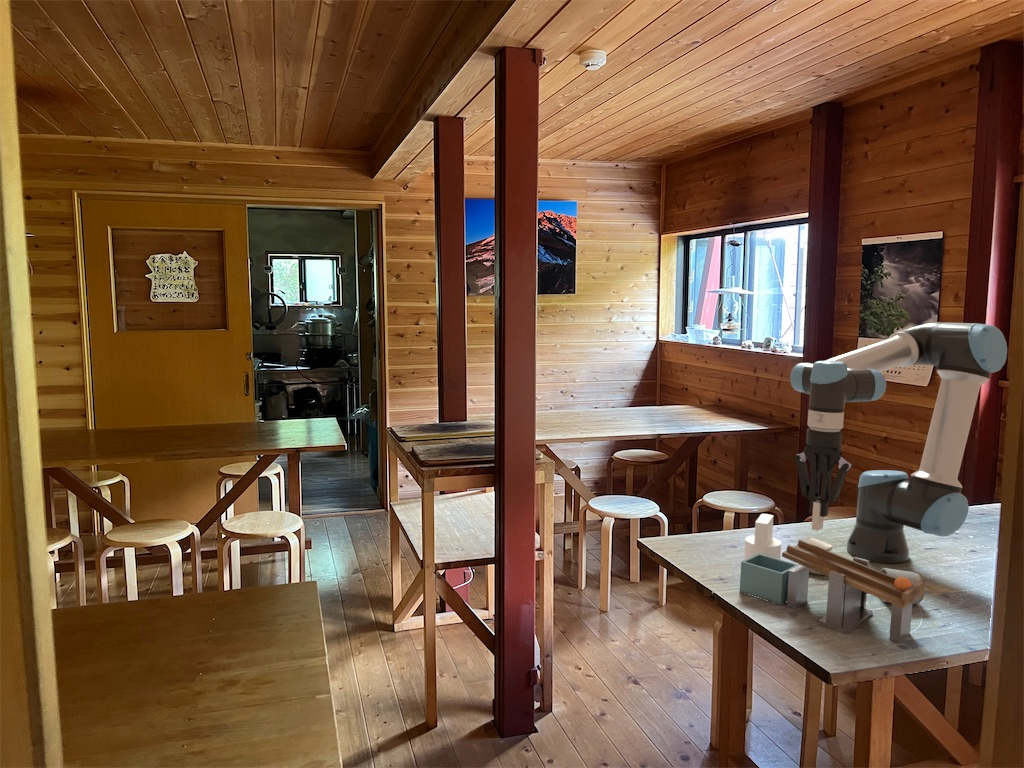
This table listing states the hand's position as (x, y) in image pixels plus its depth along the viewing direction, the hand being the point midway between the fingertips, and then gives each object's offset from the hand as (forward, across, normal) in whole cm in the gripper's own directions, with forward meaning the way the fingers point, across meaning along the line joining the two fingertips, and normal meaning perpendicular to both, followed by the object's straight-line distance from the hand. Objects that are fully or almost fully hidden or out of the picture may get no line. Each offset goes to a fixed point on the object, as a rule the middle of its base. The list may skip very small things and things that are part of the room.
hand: (817, 528), depth 171 cm
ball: (+5, +21, -7) cm, 23 cm away
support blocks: (+16, +11, -7) cm, 21 cm away
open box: (+16, -7, -7) cm, 19 cm away
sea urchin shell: (+16, -6, +17) cm, 24 cm away
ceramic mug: (+16, +14, +13) cm, 25 cm away
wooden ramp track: (+6, +11, -5) cm, 13 cm away
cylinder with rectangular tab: (+16, -18, +11) cm, 27 cm away
